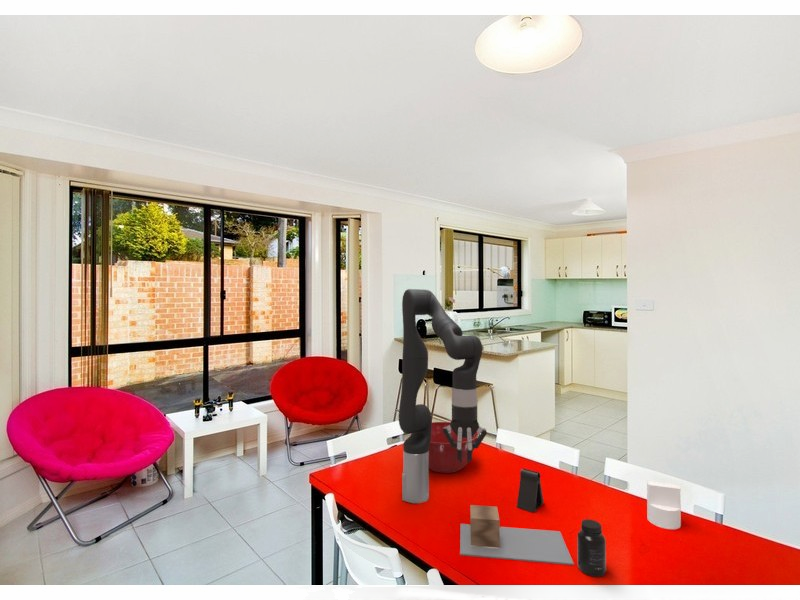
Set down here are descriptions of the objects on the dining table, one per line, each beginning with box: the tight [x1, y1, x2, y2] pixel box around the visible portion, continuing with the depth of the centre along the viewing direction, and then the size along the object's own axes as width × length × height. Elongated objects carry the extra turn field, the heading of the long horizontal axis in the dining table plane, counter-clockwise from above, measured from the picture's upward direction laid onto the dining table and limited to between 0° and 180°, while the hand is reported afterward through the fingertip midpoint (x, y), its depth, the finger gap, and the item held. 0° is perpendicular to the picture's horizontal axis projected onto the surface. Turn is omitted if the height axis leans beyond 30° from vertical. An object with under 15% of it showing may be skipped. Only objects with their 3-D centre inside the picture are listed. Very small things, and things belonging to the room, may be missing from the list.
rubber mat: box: [459, 523, 575, 566], centre depth 122 cm, size 30×16×1 cm, turn 81°
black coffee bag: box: [516, 468, 545, 514], centre depth 145 cm, size 9×6×12 cm, turn 140°
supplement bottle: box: [576, 518, 607, 578], centre depth 110 cm, size 7×7×12 cm
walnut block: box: [469, 504, 500, 549], centre depth 123 cm, size 8×8×8 cm
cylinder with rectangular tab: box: [646, 481, 682, 530], centre depth 133 cm, size 9×9×12 cm
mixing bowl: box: [410, 421, 479, 474], centre depth 178 cm, size 28×28×16 cm
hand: (464, 461), depth 124 cm, fingers closed
